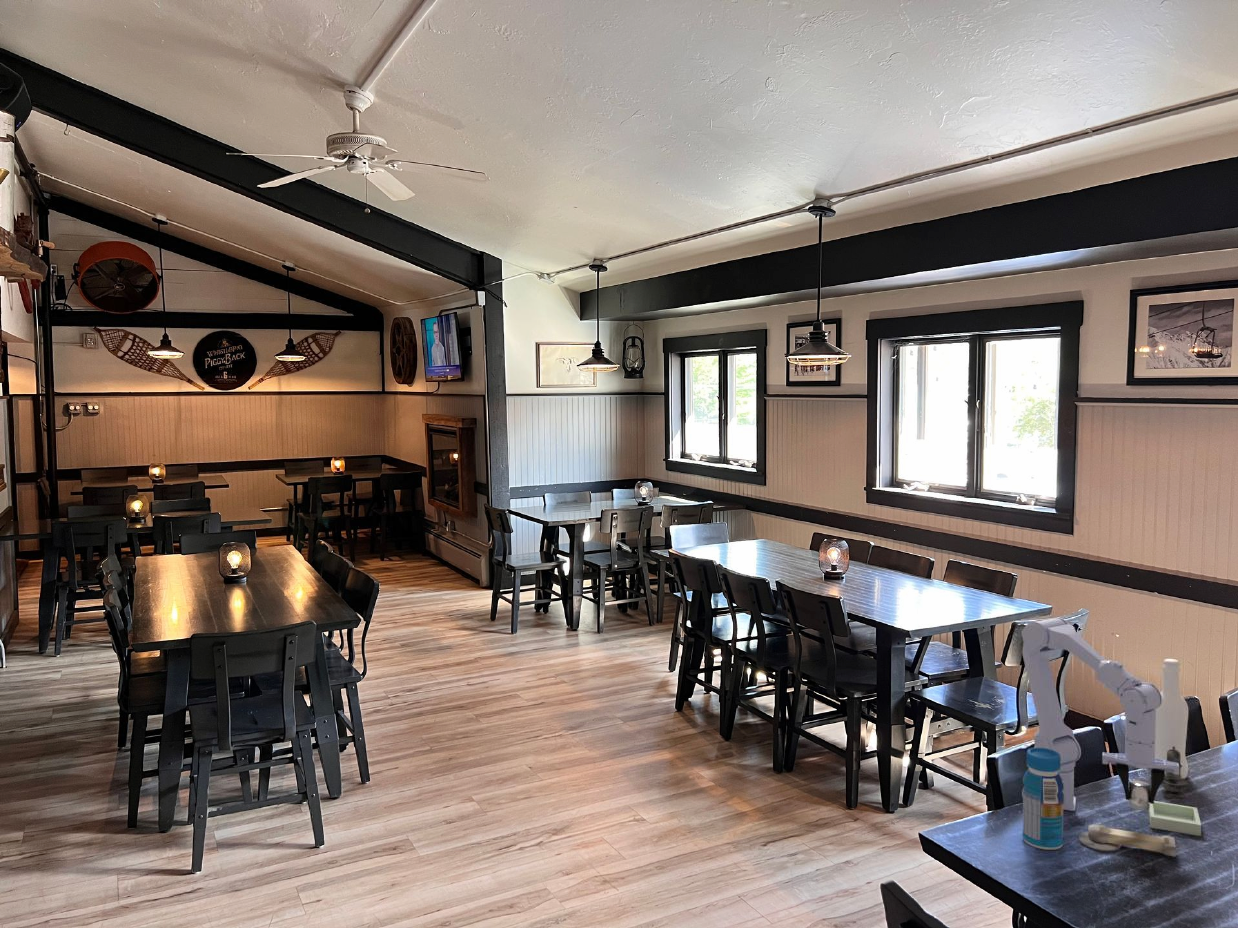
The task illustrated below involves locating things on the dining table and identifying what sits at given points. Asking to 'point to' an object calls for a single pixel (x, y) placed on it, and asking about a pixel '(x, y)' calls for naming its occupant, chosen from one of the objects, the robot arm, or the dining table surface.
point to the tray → (1174, 818)
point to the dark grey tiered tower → (1174, 778)
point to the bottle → (1171, 716)
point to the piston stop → (1139, 795)
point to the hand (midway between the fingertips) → (1139, 799)
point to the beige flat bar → (1132, 839)
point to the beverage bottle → (1043, 800)
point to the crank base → (1097, 843)
